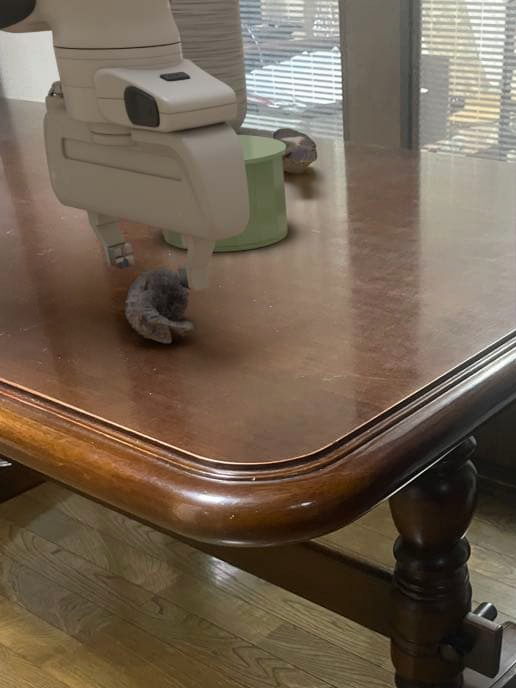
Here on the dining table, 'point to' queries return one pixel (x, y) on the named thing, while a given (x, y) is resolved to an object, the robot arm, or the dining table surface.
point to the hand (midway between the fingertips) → (157, 276)
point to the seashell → (158, 305)
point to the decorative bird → (296, 150)
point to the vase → (214, 43)
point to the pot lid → (260, 148)
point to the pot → (256, 210)
